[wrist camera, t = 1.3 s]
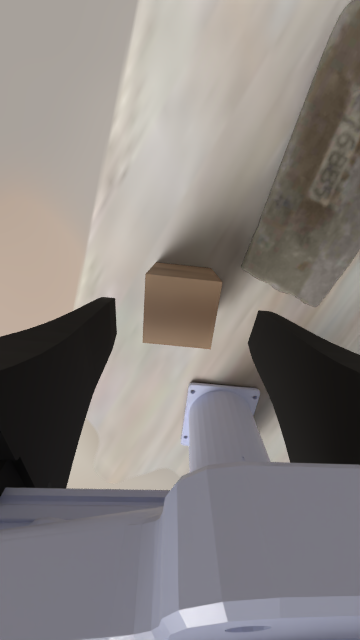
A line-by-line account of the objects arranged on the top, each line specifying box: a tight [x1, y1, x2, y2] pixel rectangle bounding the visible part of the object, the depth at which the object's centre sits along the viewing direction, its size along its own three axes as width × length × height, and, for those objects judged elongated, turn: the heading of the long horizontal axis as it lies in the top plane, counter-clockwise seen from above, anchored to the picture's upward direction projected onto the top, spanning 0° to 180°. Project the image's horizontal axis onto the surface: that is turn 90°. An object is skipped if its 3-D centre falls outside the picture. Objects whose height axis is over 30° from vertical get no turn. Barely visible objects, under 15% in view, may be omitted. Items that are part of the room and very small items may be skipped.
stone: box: [241, 0, 360, 307], centre depth 16 cm, size 18×3×10 cm
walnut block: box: [143, 262, 222, 349], centre depth 18 cm, size 5×5×6 cm
